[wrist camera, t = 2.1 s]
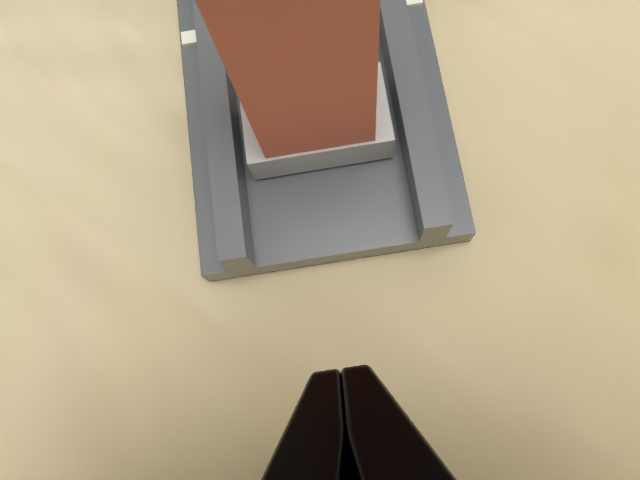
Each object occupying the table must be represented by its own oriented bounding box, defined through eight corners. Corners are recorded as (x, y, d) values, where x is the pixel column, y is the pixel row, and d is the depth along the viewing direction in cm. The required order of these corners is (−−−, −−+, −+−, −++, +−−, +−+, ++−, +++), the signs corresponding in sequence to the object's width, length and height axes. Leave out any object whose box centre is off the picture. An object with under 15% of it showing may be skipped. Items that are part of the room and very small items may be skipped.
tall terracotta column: (393, 157, 22) (430, -166, 9) (255, 179, 22) (101, -105, 9) (379, 83, 23) (395, -308, 10) (246, 106, 23) (93, -248, 10)
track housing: (470, 241, 22) (493, 208, 18) (209, 281, 23) (175, 258, 18) (402, -72, 26) (408, -156, 22) (181, -32, 26) (147, -108, 22)
